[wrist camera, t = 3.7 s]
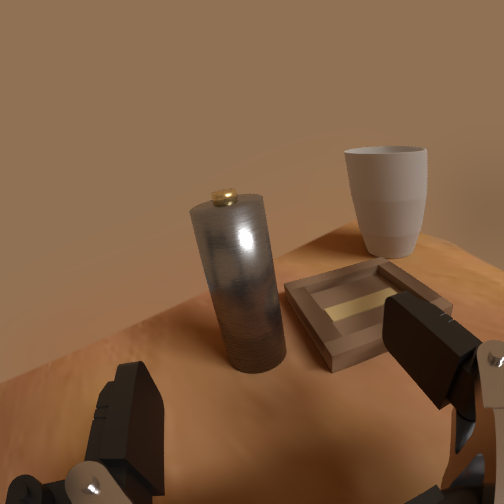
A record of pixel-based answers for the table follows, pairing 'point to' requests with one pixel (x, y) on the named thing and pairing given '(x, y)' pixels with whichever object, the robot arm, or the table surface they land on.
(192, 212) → the cell
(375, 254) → the cup
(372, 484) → the table surface
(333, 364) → the bay
